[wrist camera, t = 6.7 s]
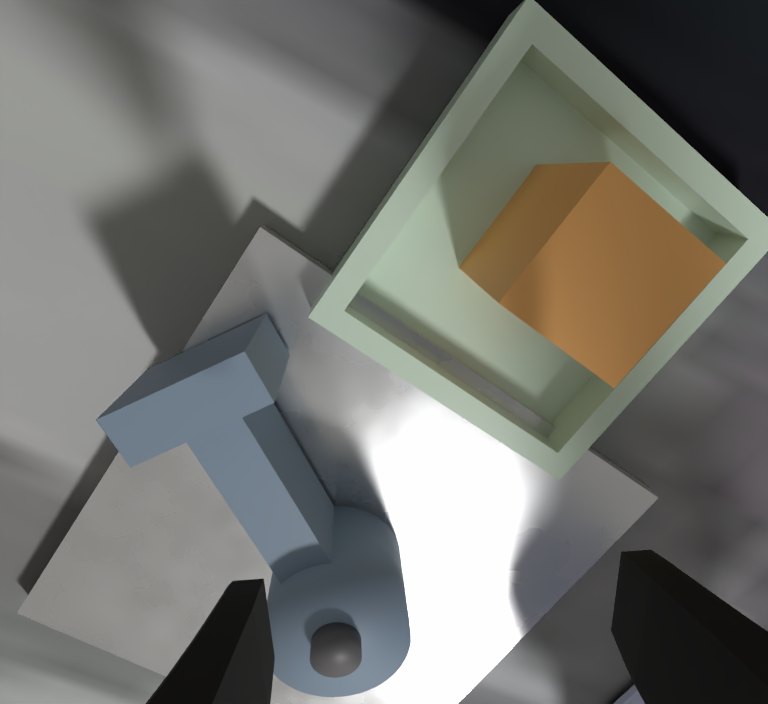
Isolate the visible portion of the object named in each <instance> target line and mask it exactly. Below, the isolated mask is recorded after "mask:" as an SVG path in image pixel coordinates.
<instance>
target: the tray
mask: <svg viewBox="0 0 768 704" xmlns="http://www.w3.org/2000/svg"><path fill="white" fill-rule="evenodd" d="M590 162H611V163H613V164H614V165H615V166H616V167H617V168H618V169H619V170H620V171H622V172H623V173H624V174H625V175H626V176H627V177H628V178H630V179H631V180H632V181H633V182H634V183H635V184H636V185H638V186H639V187H640V188H641V189H642V190H643V191H644V192H645V193H647V194H648V195H649V196H650V197H651V198H652V199H653V200H655V201H656V202H657V203H658V204H659V205H660V206H661V207H663V208H664V209H665V210H666V211H667V212H668V213H669V214H670V215H672V216H673V217H674V218H675V219H676V220H677V221H678V222H680V223H681V224H682V225H683V226H684V227H685V228H686V229H688V230H689V231H690V232H691V233H692V234H693V235H694V236H695V237H697V238H698V239H699V240H700V241H701V242H702V243H703V244H705V245H706V246H707V247H708V248H709V249H710V250H711V251H713V252H714V253H715V254H716V255H717V256H718V257H719V258H720V259H722V260H723V261H724V262H725V263H726V264H725V265H724V267H723V268H722V269H721V270H720V271H719V272H718V273H717V274H716V276H715V277H714V278H713V279H712V280H711V281H710V282H709V283H708V284H707V286H706V287H705V288H704V289H703V290H702V291H701V292H700V293H699V294H698V296H697V297H696V298H695V299H694V300H693V301H692V302H691V303H690V305H689V306H688V307H687V308H686V309H685V310H684V311H683V312H682V313H681V315H680V316H679V317H678V318H677V319H676V320H675V321H674V322H673V323H672V325H671V326H670V327H669V328H668V329H667V330H666V331H665V332H664V334H663V335H662V336H661V337H660V338H659V339H658V340H657V341H656V342H655V344H654V345H653V346H652V347H651V348H650V349H649V350H648V351H647V353H646V354H645V355H644V356H643V357H642V358H641V359H640V360H639V361H638V363H637V364H636V365H635V366H634V367H633V368H632V369H631V370H630V371H629V373H628V374H627V375H626V376H625V377H624V378H623V379H622V380H621V382H620V383H619V384H618V385H617V386H616V387H615V388H613V387H612V386H610V385H609V384H608V383H606V382H605V381H604V380H602V379H601V378H600V377H598V376H597V375H595V374H594V373H593V372H591V371H590V370H589V369H587V368H586V367H585V366H583V365H582V364H581V363H579V362H578V361H576V360H575V359H574V358H572V357H571V356H570V355H568V354H567V353H566V352H564V351H563V350H562V349H560V348H559V347H557V346H556V345H555V344H553V343H552V342H551V341H549V340H548V339H547V338H545V337H544V336H543V335H541V334H540V333H538V332H537V331H536V330H534V329H533V328H532V327H530V326H529V325H528V324H526V323H525V322H524V321H522V320H521V319H519V318H518V317H517V316H515V315H514V314H513V313H511V312H510V311H509V310H507V309H506V308H505V307H503V306H502V305H500V304H499V303H498V302H497V301H496V300H495V299H493V298H492V297H491V296H490V295H489V294H488V293H487V292H485V291H484V290H483V289H482V288H481V287H480V286H479V285H477V284H476V283H475V282H474V281H473V280H472V279H471V278H470V277H468V276H467V275H466V274H465V273H464V272H463V271H462V270H460V269H459V266H460V265H461V264H462V262H463V261H464V260H465V258H466V257H467V256H468V254H469V253H470V252H471V250H472V249H473V248H474V247H475V245H476V244H477V243H478V241H479V240H480V239H481V237H482V236H483V235H484V233H485V232H486V231H487V229H488V228H489V227H490V225H491V224H492V223H493V221H494V220H495V219H496V217H497V216H498V215H499V213H500V212H501V211H502V209H503V208H504V207H505V205H506V204H507V203H508V201H509V200H510V199H511V198H512V196H513V195H514V194H515V192H516V191H517V190H518V188H519V187H520V186H521V184H522V183H523V182H524V180H525V179H526V178H527V176H528V175H529V174H530V172H531V171H532V170H533V168H534V167H535V166H536V165H538V164H564V163H590ZM767 251H768V217H767V216H766V215H765V214H763V213H762V212H761V211H760V210H759V209H758V208H757V207H756V206H755V205H754V204H753V203H752V202H751V201H749V200H748V199H747V198H746V197H745V196H744V195H743V194H742V193H741V192H740V191H739V190H738V189H737V188H735V187H734V186H733V185H732V184H731V183H730V182H729V181H728V180H727V179H726V178H725V177H724V176H723V175H721V174H720V173H719V172H718V171H717V170H716V169H715V168H714V167H713V166H712V165H711V164H710V163H709V162H708V161H706V160H705V159H704V158H703V157H702V156H701V155H700V154H699V153H698V152H697V151H696V150H695V149H694V148H692V147H691V146H690V145H689V144H688V143H687V142H686V141H685V140H684V139H683V138H682V137H681V136H680V135H678V134H677V133H676V132H675V131H674V130H673V129H672V128H671V127H670V126H669V125H668V124H667V123H666V122H664V121H663V120H662V119H661V118H660V117H659V116H658V115H657V114H656V113H655V112H654V111H653V110H652V109H651V108H649V107H648V106H647V105H646V104H645V103H644V102H643V101H642V100H641V99H640V98H639V97H638V96H637V95H635V94H634V93H633V92H632V91H631V90H630V89H629V88H628V87H627V86H626V85H625V84H624V83H623V82H621V81H620V80H619V79H618V78H617V77H616V76H615V75H614V74H613V73H612V72H611V71H610V70H609V69H607V68H606V67H605V66H604V65H603V64H602V63H601V62H600V61H599V60H598V59H597V58H596V57H595V56H593V55H592V54H591V53H590V52H589V51H588V50H587V49H586V48H585V47H584V46H583V45H582V44H581V43H580V42H578V41H577V40H576V39H575V38H574V37H573V36H572V35H571V34H570V33H569V32H568V31H567V30H566V29H564V28H563V27H562V26H561V25H560V24H559V23H558V22H557V21H556V20H555V19H554V18H553V17H552V16H550V15H549V14H548V13H547V12H546V11H545V10H544V9H543V8H542V7H541V6H540V5H539V4H538V3H536V2H535V1H534V0H524V1H523V2H522V3H521V4H520V5H519V6H518V7H517V8H516V9H515V10H514V11H513V12H512V13H511V14H510V15H509V16H508V17H507V19H506V20H505V22H504V23H503V25H502V26H501V27H500V29H499V30H498V32H497V33H496V35H495V36H494V38H493V39H492V41H491V42H490V44H489V45H488V46H487V48H486V49H485V51H484V52H483V54H482V55H481V57H480V58H479V60H478V61H477V63H476V64H475V65H474V67H473V68H472V70H471V71H470V73H469V74H468V76H467V77H466V79H465V80H464V82H463V83H462V84H461V86H460V87H459V89H458V90H457V92H456V93H455V95H454V96H453V98H452V99H451V101H450V102H449V103H448V105H447V106H446V108H445V109H444V111H443V112H442V114H441V115H440V117H439V118H438V120H437V121H436V122H435V124H434V125H433V127H432V128H431V130H430V131H429V133H428V134H427V136H426V137H425V139H424V140H423V141H422V143H421V144H420V146H419V147H418V149H417V150H416V152H415V153H414V155H413V156H412V158H411V159H410V160H409V162H408V163H407V165H406V166H405V168H404V169H403V171H402V172H401V174H400V175H399V177H398V178H397V179H396V181H395V182H394V184H393V185H392V187H391V188H390V190H389V191H388V193H387V194H386V196H385V197H384V198H383V200H382V201H381V203H380V204H379V206H378V207H377V209H376V210H375V212H374V213H373V215H372V216H371V218H370V219H369V220H368V222H367V223H366V225H365V226H364V228H363V229H362V231H361V232H360V234H359V235H358V237H357V238H356V239H355V241H354V242H353V244H352V245H351V247H350V248H349V250H348V251H347V253H346V254H345V256H344V257H343V258H342V260H341V261H340V263H339V264H338V266H337V267H336V269H335V270H334V272H333V276H332V278H331V279H330V281H329V282H328V284H327V285H326V287H325V288H324V290H323V291H322V293H321V294H320V295H319V297H318V298H317V300H316V301H315V303H314V304H313V306H312V307H311V309H310V312H309V316H308V318H310V319H312V320H313V321H315V322H316V323H318V324H319V325H321V326H322V327H324V328H325V329H327V330H328V331H330V332H332V333H333V334H335V335H336V336H338V337H339V338H341V339H342V340H344V341H345V342H347V343H349V344H350V345H352V346H353V347H355V348H356V349H358V350H359V351H361V352H362V353H364V354H365V355H367V356H369V357H370V358H372V359H373V360H375V361H376V362H378V363H379V364H381V365H382V366H384V367H385V368H387V369H389V370H390V371H392V372H393V373H395V374H396V375H398V376H399V377H401V378H402V379H404V380H405V381H407V382H409V383H410V384H412V385H413V386H415V387H416V388H418V389H419V390H421V391H422V392H424V393H426V394H427V395H429V396H430V397H432V398H433V399H435V400H436V401H438V402H439V403H441V404H442V405H444V406H446V407H447V408H449V409H450V410H452V411H453V412H455V413H456V414H458V415H459V416H461V417H462V418H464V419H466V420H467V421H469V422H470V423H472V424H473V425H475V426H476V427H478V428H479V429H481V430H482V431H484V432H486V433H487V434H489V435H490V436H492V437H493V438H495V439H496V440H498V441H499V442H501V443H503V444H504V445H506V446H507V447H509V448H510V449H512V450H513V451H515V452H516V453H518V454H519V455H521V456H523V457H524V458H526V459H527V460H529V461H530V462H532V463H533V464H535V465H536V466H538V467H539V468H541V469H543V470H544V471H546V472H547V473H549V474H550V475H552V476H553V477H555V478H556V479H558V480H559V481H560V480H561V478H562V477H563V476H564V475H565V474H566V473H567V472H568V471H569V470H570V469H571V467H572V466H573V465H574V464H575V463H576V462H577V461H578V460H579V459H580V457H581V456H582V455H583V454H584V453H585V452H586V451H587V450H588V449H589V448H590V446H591V445H592V444H593V443H594V442H595V441H596V440H597V439H598V438H599V437H600V435H601V434H602V433H603V432H604V431H605V430H606V429H607V428H608V427H609V426H610V424H611V423H612V422H613V421H614V420H615V419H616V418H617V417H618V416H619V414H620V413H621V412H622V411H623V410H624V409H625V408H626V407H627V406H628V405H629V403H630V402H631V401H632V400H633V399H634V398H635V397H636V396H637V395H638V394H639V392H640V391H641V390H642V389H643V388H644V387H645V386H646V385H647V384H648V383H649V381H650V380H651V379H652V378H653V377H654V376H655V375H656V374H657V373H658V371H659V370H660V369H661V368H662V367H663V366H664V365H665V364H666V363H667V362H668V360H669V359H670V358H671V357H672V356H673V355H674V354H675V353H676V352H677V351H678V349H679V348H680V347H681V346H682V345H683V344H684V343H685V342H686V341H687V340H688V338H689V337H690V336H691V335H692V334H693V333H694V332H695V331H696V330H697V328H698V327H699V326H700V325H701V324H702V323H703V322H704V321H705V320H706V319H707V317H708V316H709V315H710V314H711V313H712V312H713V311H714V310H715V309H716V308H717V306H718V305H719V304H720V303H721V302H722V301H723V300H724V299H725V298H726V297H727V295H728V294H729V293H730V292H731V291H732V290H733V289H734V288H735V287H736V285H737V284H738V283H739V282H740V281H741V280H742V279H743V278H744V277H745V276H746V274H747V273H748V272H749V271H750V270H751V269H752V268H753V267H754V266H755V265H756V263H757V262H758V261H759V260H760V259H761V258H762V257H763V256H764V255H765V254H766V252H767ZM358 291H359V292H360V293H362V294H363V295H365V296H366V297H367V298H369V299H370V300H372V301H373V302H375V303H376V304H378V305H379V306H381V307H382V308H384V309H385V310H387V311H388V312H390V313H391V314H392V315H394V316H395V317H397V318H398V319H400V320H401V321H403V322H404V323H406V324H407V325H409V326H410V327H412V328H413V329H414V330H416V331H417V332H419V333H420V334H422V335H423V336H425V337H426V338H428V339H429V340H431V341H432V342H434V343H435V344H436V345H438V346H439V347H441V348H442V349H444V350H445V351H447V352H448V353H450V354H451V355H453V356H454V357H456V358H457V359H458V360H460V361H461V362H463V363H464V364H466V365H467V366H469V367H470V368H472V369H473V370H475V371H476V372H478V373H479V374H480V375H482V376H483V377H485V378H486V379H488V380H489V381H491V382H492V383H494V384H495V385H497V386H498V387H500V388H501V389H503V390H504V391H505V392H507V393H508V394H510V395H511V396H513V397H514V398H516V399H517V400H519V401H520V402H522V403H523V404H525V405H526V406H527V407H529V408H530V409H532V410H533V411H535V412H536V413H538V414H539V415H541V416H542V417H544V418H545V419H547V420H548V421H549V422H551V423H552V424H553V425H554V427H555V429H554V430H553V431H552V433H551V434H550V435H549V436H548V437H547V438H546V437H544V436H543V435H541V434H540V433H538V432H537V431H535V430H534V429H533V428H531V427H530V426H528V425H527V424H525V423H524V422H522V421H521V420H519V419H518V418H516V417H515V416H513V415H512V414H510V413H509V412H507V411H506V410H504V409H503V408H501V407H500V406H498V405H497V404H495V403H494V402H492V401H491V400H489V399H488V398H486V397H485V396H483V395H482V394H480V393H479V392H477V391H476V390H474V389H473V388H471V387H470V386H468V385H467V384H465V383H464V382H462V381H461V380H459V379H458V378H456V377H455V376H453V375H452V374H450V373H449V372H447V371H446V370H444V369H443V368H441V367H440V366H439V365H437V364H436V363H434V362H433V361H431V360H430V359H428V358H427V357H425V356H424V355H422V354H421V353H419V352H418V351H416V350H415V349H413V348H412V347H410V346H409V345H407V344H406V343H404V342H403V341H401V340H400V339H398V338H397V337H395V336H394V335H392V334H391V333H389V332H388V331H386V330H385V329H383V328H382V327H380V326H379V325H377V324H376V323H374V322H373V321H371V320H370V319H368V318H367V317H365V316H364V315H362V314H361V313H359V312H358V311H356V310H355V309H353V308H352V307H350V306H349V303H350V302H351V300H352V299H353V298H354V296H355V295H356V293H357V292H358Z"/></svg>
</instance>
